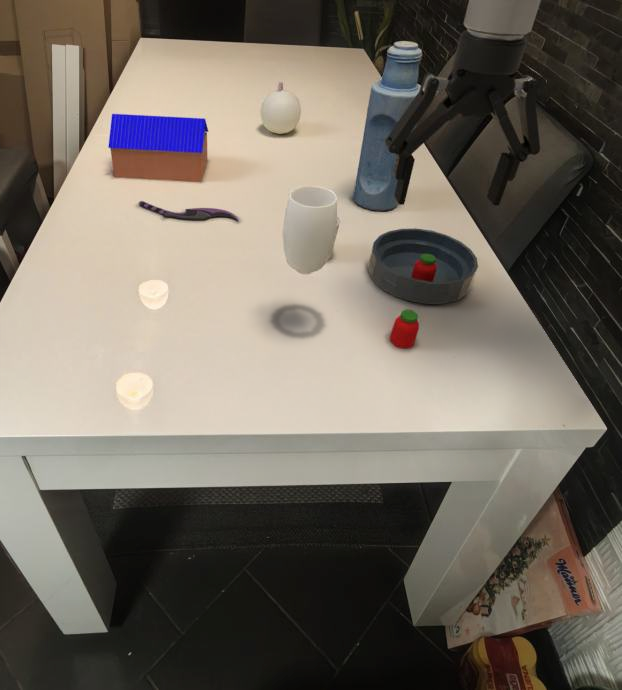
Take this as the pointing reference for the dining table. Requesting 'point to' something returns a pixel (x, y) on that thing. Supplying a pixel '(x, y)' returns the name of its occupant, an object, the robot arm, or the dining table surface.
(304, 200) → the cup
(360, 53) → the dining table surface
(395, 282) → the bowl
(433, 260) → the strawberry
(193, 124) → the house
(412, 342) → the strawberry
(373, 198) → the bottle
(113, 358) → the dining table surface
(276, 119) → the ornament
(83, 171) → the dining table surface
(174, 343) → the dining table surface
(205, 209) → the knife
